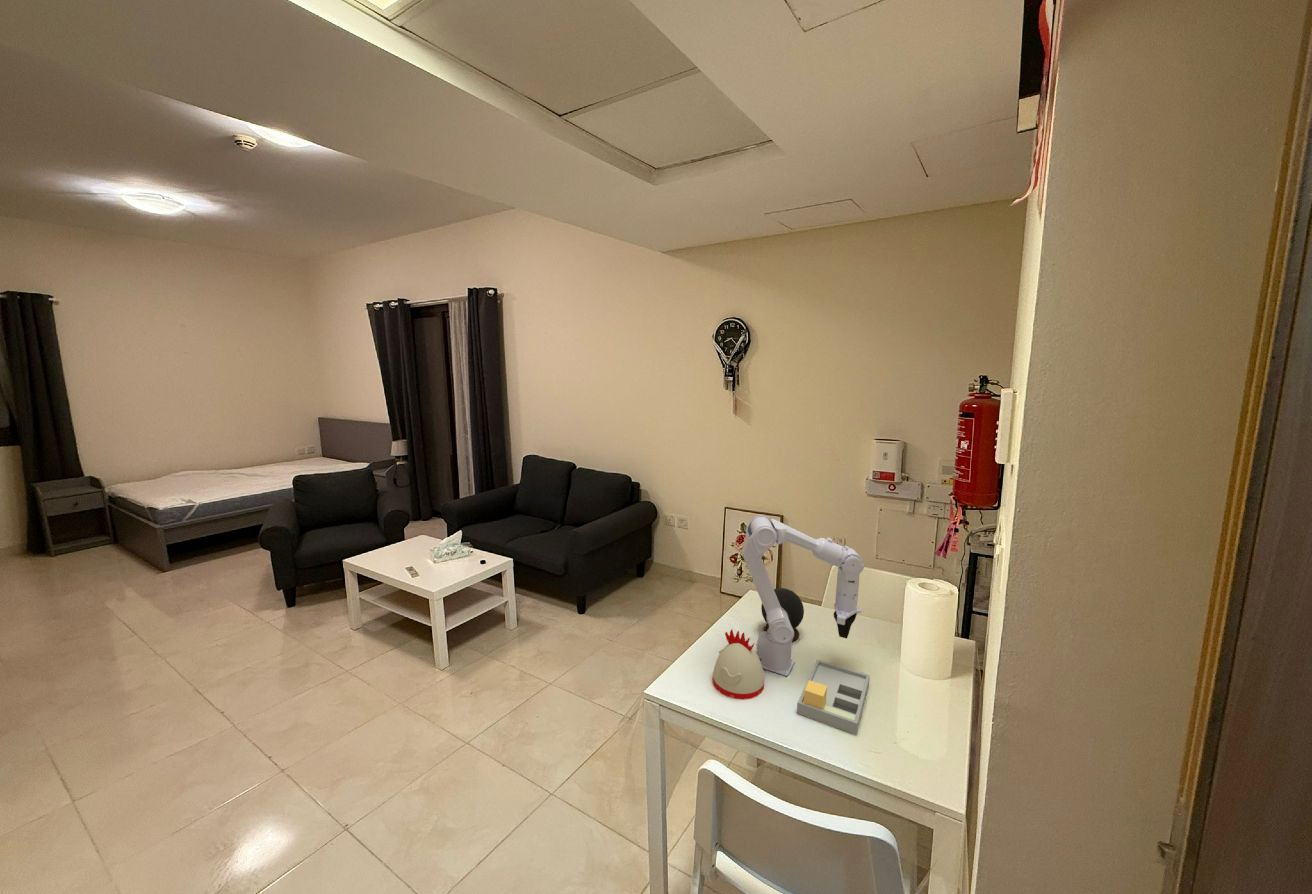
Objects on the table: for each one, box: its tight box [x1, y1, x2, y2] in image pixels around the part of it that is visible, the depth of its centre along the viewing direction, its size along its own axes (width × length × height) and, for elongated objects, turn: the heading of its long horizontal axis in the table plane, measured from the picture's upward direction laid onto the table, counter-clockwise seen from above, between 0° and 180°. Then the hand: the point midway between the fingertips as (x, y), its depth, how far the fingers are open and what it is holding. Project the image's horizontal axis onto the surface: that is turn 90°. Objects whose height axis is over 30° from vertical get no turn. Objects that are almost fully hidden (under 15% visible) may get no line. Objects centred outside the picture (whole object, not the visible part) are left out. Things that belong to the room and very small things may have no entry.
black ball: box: [761, 587, 805, 644], centre depth 158 cm, size 13×13×15 cm
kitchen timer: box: [712, 629, 765, 700], centre depth 134 cm, size 14×14×15 cm
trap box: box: [796, 658, 871, 736], centre depth 129 cm, size 14×21×3 cm, turn 150°
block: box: [804, 680, 827, 709], centre depth 124 cm, size 4×4×4 cm
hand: (843, 636), depth 140 cm, fingers closed
